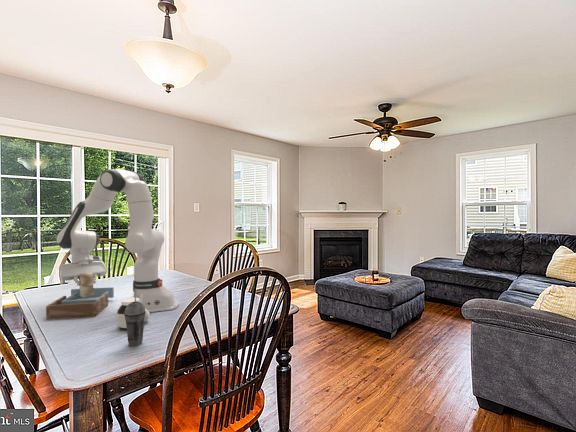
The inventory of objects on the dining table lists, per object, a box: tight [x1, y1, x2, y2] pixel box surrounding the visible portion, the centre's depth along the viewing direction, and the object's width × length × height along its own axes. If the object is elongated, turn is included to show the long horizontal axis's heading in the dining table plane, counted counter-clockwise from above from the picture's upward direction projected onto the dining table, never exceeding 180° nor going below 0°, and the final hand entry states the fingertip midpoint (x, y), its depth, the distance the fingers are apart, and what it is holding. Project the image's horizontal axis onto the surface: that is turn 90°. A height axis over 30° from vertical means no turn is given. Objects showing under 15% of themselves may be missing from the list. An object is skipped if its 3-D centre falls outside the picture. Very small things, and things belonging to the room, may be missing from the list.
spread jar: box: [116, 297, 151, 331], centre depth 136 cm, size 12×11×12 cm
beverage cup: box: [124, 289, 146, 348], centre depth 117 cm, size 7×7×20 cm
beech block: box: [79, 273, 94, 297], centre depth 162 cm, size 5×5×11 cm
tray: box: [61, 286, 115, 305], centre depth 163 cm, size 19×20×5 cm
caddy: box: [45, 294, 109, 320], centre depth 153 cm, size 17×20×6 cm
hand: (86, 283), depth 162 cm, fingers closed on beech block, 5 cm apart
